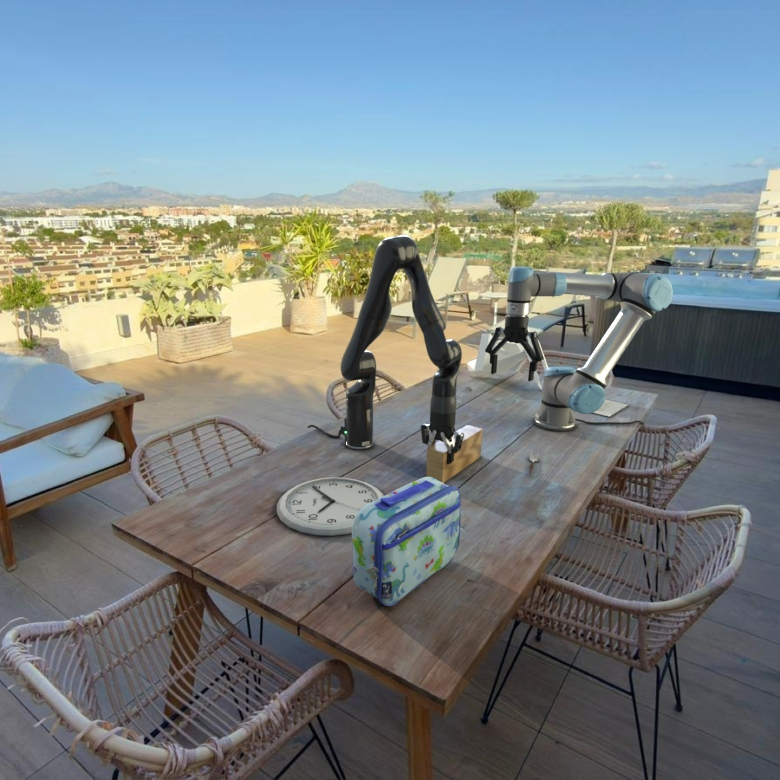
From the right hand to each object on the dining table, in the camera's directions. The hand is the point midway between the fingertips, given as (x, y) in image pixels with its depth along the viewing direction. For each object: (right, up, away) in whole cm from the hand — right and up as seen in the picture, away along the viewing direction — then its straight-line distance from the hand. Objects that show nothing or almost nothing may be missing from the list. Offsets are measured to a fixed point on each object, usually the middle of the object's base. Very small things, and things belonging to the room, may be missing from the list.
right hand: (511, 376), depth 179 cm
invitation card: (+50, -12, +47) cm, 70 cm away
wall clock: (-57, -36, -36) cm, 77 cm away
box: (-21, -29, -12) cm, 38 cm away
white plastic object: (+15, -1, +79) cm, 80 cm away
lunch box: (-38, -45, -65) cm, 88 cm away
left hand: (-26, -26, -21) cm, 42 cm away
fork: (+4, -29, -10) cm, 31 cm away
